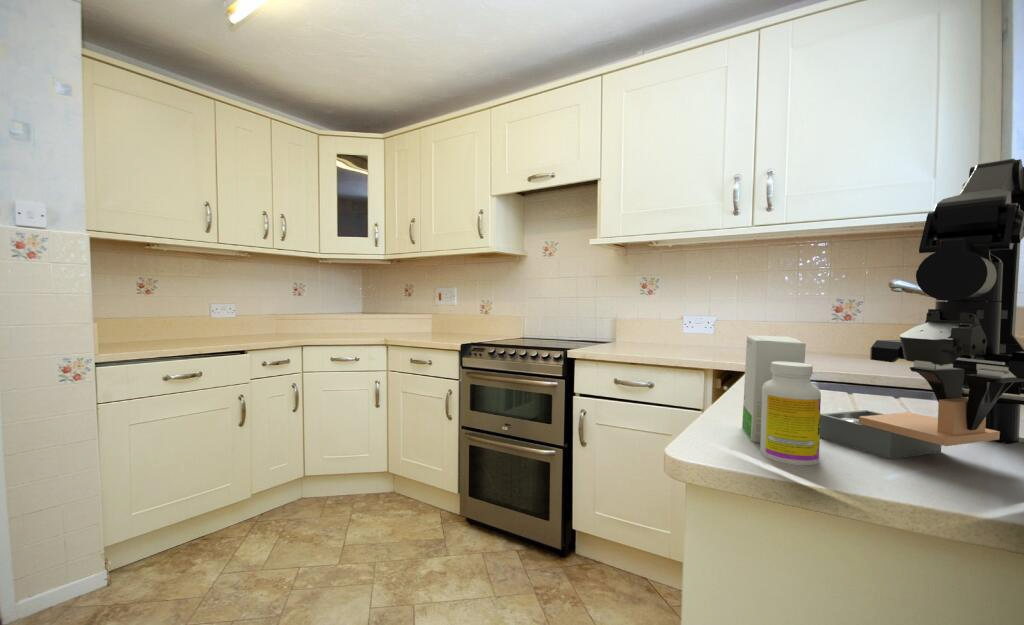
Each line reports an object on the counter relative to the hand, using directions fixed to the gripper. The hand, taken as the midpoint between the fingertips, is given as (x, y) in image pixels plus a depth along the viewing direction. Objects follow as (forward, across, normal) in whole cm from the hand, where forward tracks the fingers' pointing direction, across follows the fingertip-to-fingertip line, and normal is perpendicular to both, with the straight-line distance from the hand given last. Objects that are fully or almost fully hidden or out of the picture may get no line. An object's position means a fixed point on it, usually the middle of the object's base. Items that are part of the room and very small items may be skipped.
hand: (961, 427), depth 56 cm
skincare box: (+6, -17, -12) cm, 21 cm away
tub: (+6, -10, 0) cm, 11 cm away
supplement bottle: (+6, -9, -17) cm, 20 cm away
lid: (+1, -4, 0) cm, 4 cm away
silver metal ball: (+5, -12, -2) cm, 13 cm away
